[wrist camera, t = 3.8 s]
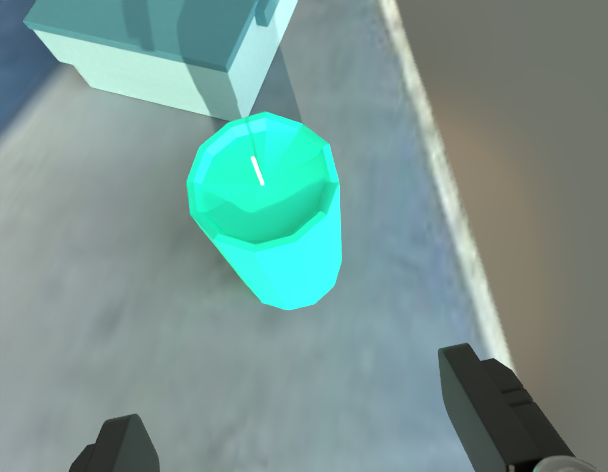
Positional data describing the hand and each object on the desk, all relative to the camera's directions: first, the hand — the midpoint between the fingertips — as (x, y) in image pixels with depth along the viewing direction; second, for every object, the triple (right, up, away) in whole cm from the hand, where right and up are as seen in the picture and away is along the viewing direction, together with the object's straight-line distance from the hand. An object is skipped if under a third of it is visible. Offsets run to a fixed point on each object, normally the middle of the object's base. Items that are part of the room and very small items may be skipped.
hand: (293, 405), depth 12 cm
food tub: (-7, +19, +22) cm, 30 cm away
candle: (0, +3, +16) cm, 16 cm away
